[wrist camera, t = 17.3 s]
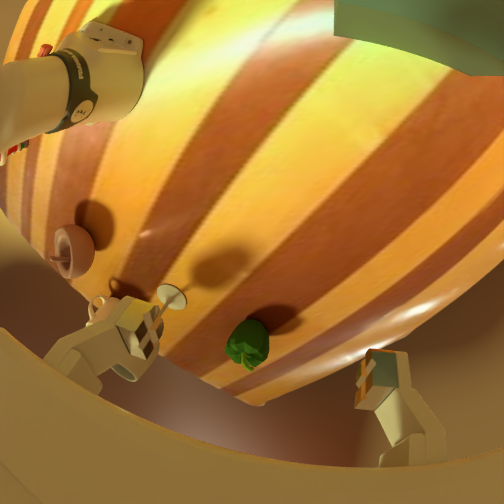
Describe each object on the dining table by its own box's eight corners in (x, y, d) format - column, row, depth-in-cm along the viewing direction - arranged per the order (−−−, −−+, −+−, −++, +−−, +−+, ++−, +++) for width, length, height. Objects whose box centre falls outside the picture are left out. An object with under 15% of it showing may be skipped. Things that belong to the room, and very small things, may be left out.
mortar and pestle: (81, 205, 51) (44, 231, 42) (112, 247, 55) (79, 277, 45) (65, 230, 57) (34, 254, 48) (93, 266, 61) (64, 293, 51)
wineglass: (152, 281, 57) (98, 352, 40) (182, 285, 55) (130, 365, 38) (162, 306, 61) (115, 376, 44) (190, 312, 59) (146, 388, 42)
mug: (114, 284, 62) (89, 312, 53) (138, 319, 67) (118, 348, 58) (96, 286, 65) (73, 312, 56) (119, 319, 70) (99, 346, 62)
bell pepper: (227, 318, 57) (210, 354, 49) (260, 309, 53) (247, 349, 45) (247, 343, 60) (235, 379, 52) (279, 336, 56) (270, 375, 48)
